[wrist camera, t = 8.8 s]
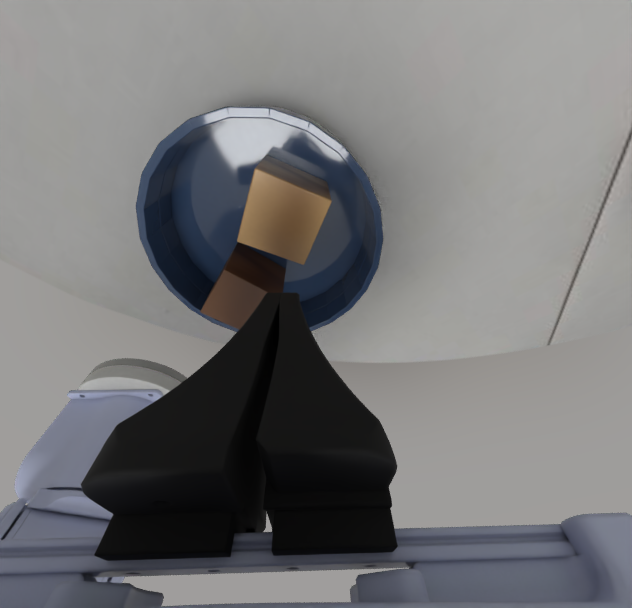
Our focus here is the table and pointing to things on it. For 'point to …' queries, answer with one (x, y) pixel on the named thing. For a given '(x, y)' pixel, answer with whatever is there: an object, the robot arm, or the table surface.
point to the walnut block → (242, 286)
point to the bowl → (230, 199)
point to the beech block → (283, 210)
